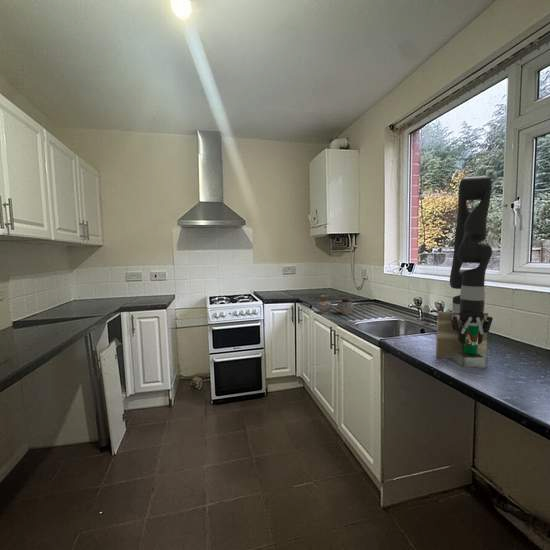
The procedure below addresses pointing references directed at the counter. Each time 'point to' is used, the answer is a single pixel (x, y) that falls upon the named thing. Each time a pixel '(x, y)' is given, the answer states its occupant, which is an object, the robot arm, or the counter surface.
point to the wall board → (453, 336)
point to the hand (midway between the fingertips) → (470, 343)
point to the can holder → (469, 359)
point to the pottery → (343, 306)
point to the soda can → (471, 339)
